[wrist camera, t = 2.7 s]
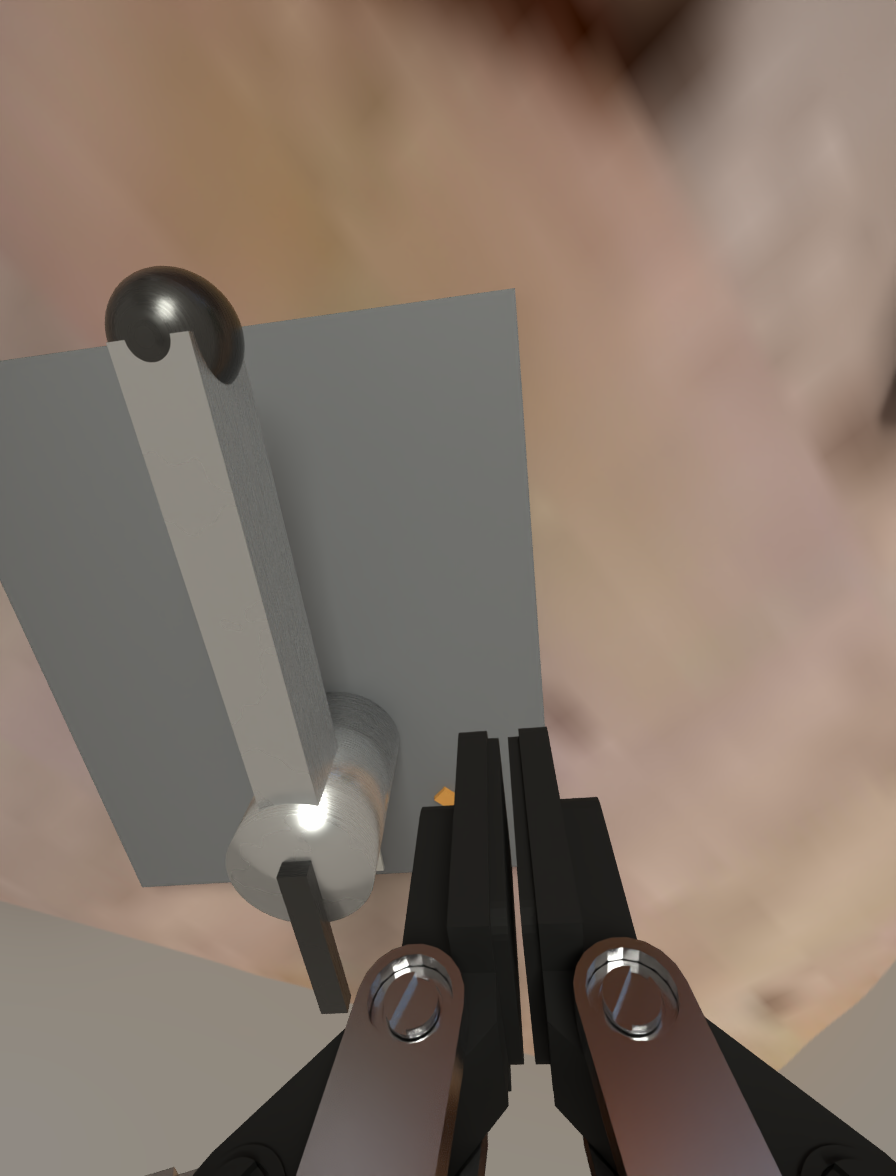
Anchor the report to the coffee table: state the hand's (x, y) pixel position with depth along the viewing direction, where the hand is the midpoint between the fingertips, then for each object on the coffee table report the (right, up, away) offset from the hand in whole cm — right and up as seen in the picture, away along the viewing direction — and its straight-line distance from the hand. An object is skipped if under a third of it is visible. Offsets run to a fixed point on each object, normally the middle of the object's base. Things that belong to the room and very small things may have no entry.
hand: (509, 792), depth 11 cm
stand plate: (-8, +1, +15) cm, 17 cm away
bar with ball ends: (-7, +2, +12) cm, 14 cm away
